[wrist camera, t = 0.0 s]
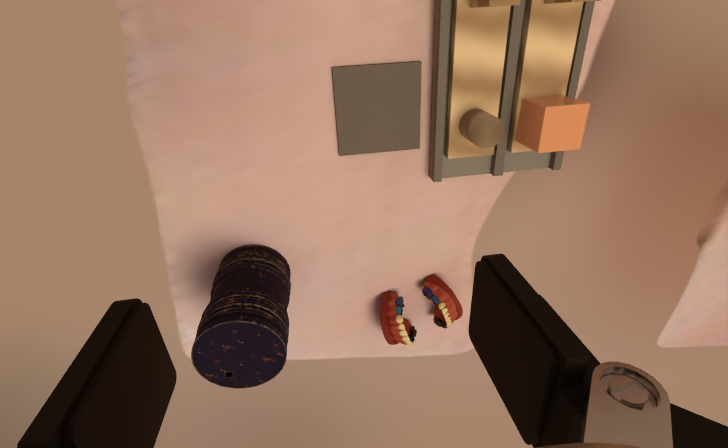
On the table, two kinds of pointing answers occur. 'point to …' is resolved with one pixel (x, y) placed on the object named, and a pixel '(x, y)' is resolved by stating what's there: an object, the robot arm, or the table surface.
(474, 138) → the brown post
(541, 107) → the cube
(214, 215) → the table surface
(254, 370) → the storage jar
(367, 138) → the mat
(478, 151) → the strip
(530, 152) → the lane board
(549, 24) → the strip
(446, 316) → the teeth model
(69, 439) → the robot arm
